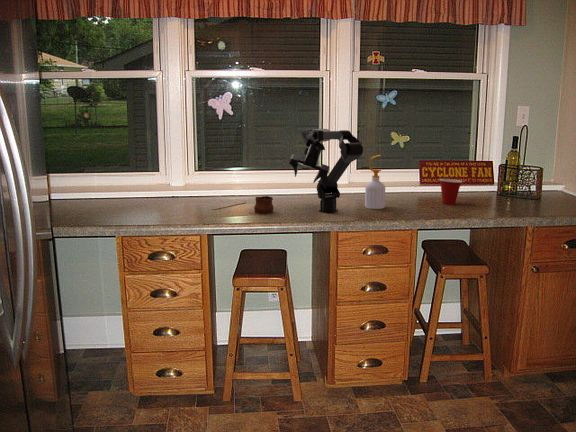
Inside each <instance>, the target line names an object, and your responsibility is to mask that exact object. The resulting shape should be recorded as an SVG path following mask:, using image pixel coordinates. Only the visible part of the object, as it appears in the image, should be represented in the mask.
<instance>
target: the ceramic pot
mask: <svg viewBox="0 0 576 432" xmlns="http://www.w3.org/2000/svg"><path fill="white" fill-rule="evenodd" d="M254 199H255V204H254V207H253V210H254V212H255V213H256V214H260V213H261V214H262V215H263V214H264V215H266V214H268V213H269V214H273V213H274V209H275V208H274V205H273V199H274V197H272V196H269V195H264V196H255V198H254ZM272 212H273V213H272ZM261 214H260V215H261Z"/></svg>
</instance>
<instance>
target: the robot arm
mask: <svg viewBox="0 0 576 432" xmlns="http://www.w3.org/2000/svg"><path fill="white" fill-rule="evenodd" d="M305 129H306V130H304V131H303V132H301V134H300V139H301V141H302V142H303V143H304V144H305V146H307V147H305V150H304V153H303V155H305V158H304V160H303V159H301V156H300V155H297V154H295V153H293V154H291V156H290V160H289V163H288V164H289V165H290V166H291V167H292V168H293V171H294V172H293V173H294V177H297V174H298V170H299V165H302V166H304V167H308V168H312V169H314V170H317V171H318V172H317V173H316V176H314V177H315V178H314V180H313V184H315V183H316V182H317V185H316V193H317V198H318V200H319V199H320V203H319V204H320V205H319V206H320V207H319V210H318V211H319V212H322V213H328V214H331V213H335V212H338V211H339V209H337V198H338V199H339V198H340V196H341V192H340V190H339V188H338V186H339V185H338V181H339V180H340V179H341V178H342V176H343V174H345V171H346V170H347V169H348V168H349V166H350V164H351V163H352V162H355V161H356V160H358V159H359V158H360V157H361V156H362V154H363V152H364V146H363V145H362V143H361V142H360V140H359V139H358V138H357V137H355V136H354V135H353V134H352V132H351V131H350V130H347V129H346V130H344V129H343V130H330V129H327V128H313V129H311V128H305ZM331 140H338V147H339V149H340V151H339V152H340V157H339V158H338V160H337V161H336V163H335V165H334V166H333V168H332V169H331V168H330V166H329V165H327V164H324V163H322V164H321V166H320V165H318V164H317V163H318V161H319V159H320V155H321V153H322V151H326V148H325V146H324V144H323V143H325V142H328V141H331ZM344 141H348V142H344ZM330 169H331V170H330ZM329 171H330V172H329Z"/></svg>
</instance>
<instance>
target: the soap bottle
mask: <svg viewBox="0 0 576 432" xmlns="http://www.w3.org/2000/svg"><path fill="white" fill-rule="evenodd" d="M379 157H381V154H377V155H373V156H371V158H370V159H369V170H370V171H371V172H372V173H373V175H371V181H369V182H368V183H366V185H365V189H364V190H365V192H364V207H365V208H367V209H368V210H369V209H370V210H381V209H382V210H383V209H384V208H385V205H386V185H385V184H384V183H383V182H381V180H380V175H378V174H379V173H380V172H381V171H382V169H381V168H379V169H378V168H376V169H375V168H372V159H375V158H379Z"/></svg>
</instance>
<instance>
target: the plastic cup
mask: <svg viewBox="0 0 576 432" xmlns="http://www.w3.org/2000/svg"><path fill="white" fill-rule="evenodd" d="M439 182H440V189H441V191H440V192H441V199H442V204H443V205H449V206H453V205H456V202H457V198H458V195H459V191H460V187H461V185H462V183H463V180H459V179H452V178H439Z"/></svg>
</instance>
